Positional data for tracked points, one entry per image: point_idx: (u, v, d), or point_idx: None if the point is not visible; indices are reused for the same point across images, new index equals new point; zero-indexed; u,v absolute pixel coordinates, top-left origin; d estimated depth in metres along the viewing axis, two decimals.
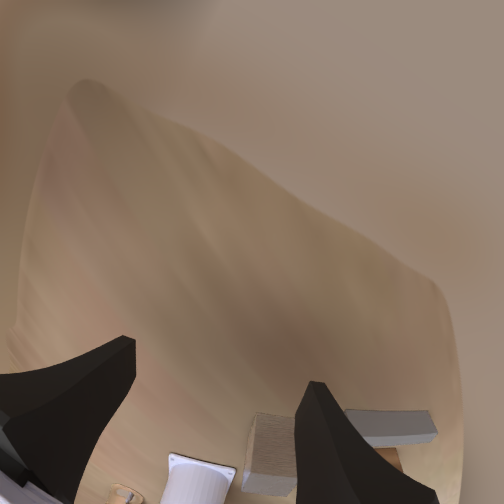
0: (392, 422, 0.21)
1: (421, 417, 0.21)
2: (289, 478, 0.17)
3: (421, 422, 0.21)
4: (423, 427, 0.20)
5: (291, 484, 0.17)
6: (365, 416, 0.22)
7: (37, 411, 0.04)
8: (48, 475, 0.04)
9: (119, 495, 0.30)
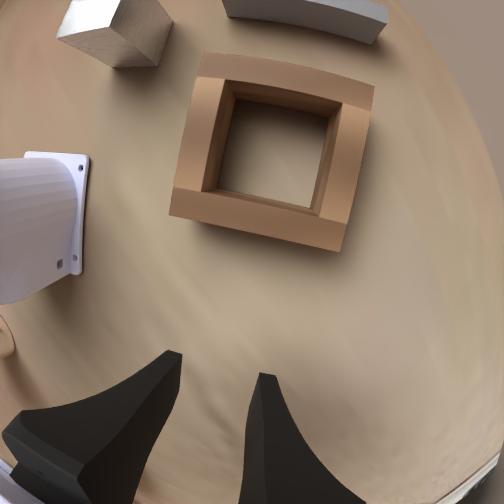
0: None
1: None
2: None
3: None
4: None
5: None
6: None
7: (105, 448, 0.04)
8: None
9: None
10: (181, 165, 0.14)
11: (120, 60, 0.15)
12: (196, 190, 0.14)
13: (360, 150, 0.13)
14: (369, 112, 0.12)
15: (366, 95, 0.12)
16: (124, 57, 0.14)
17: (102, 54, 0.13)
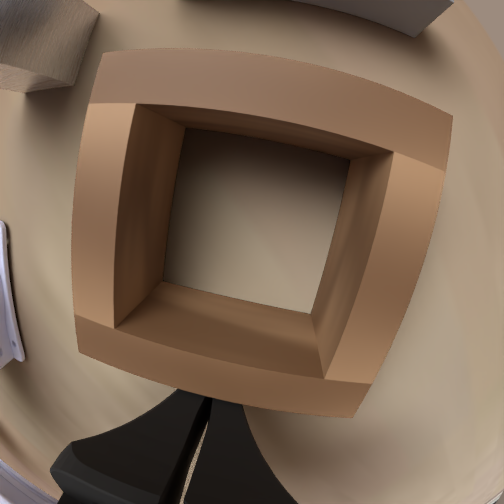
0: None
1: None
2: None
3: None
4: None
5: None
6: None
7: None
8: None
9: None
10: (77, 280, 0.07)
11: (22, 85, 0.08)
12: (107, 326, 0.07)
13: (418, 257, 0.06)
14: (443, 174, 0.05)
15: (438, 134, 0.05)
16: (22, 81, 0.07)
17: None
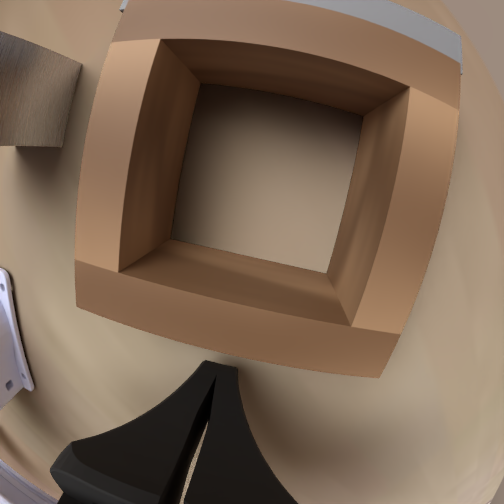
0: None
1: None
2: None
3: None
4: None
5: None
6: None
7: None
8: None
9: None
10: (82, 219, 0.07)
11: None
12: (110, 269, 0.07)
13: (442, 190, 0.06)
14: (457, 112, 0.05)
15: (449, 77, 0.05)
16: None
17: None
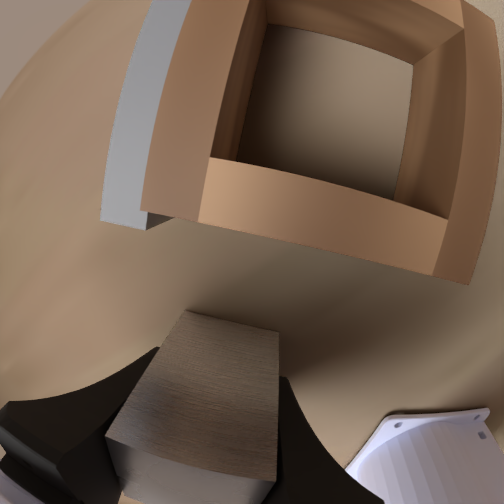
0: None
1: None
2: (120, 458, 0.05)
3: None
4: None
5: (157, 463, 0.05)
6: None
7: (87, 440, 0.04)
8: (94, 501, 0.04)
9: None
10: (398, 257, 0.06)
11: None
12: (445, 228, 0.06)
13: None
14: None
15: None
16: None
17: None
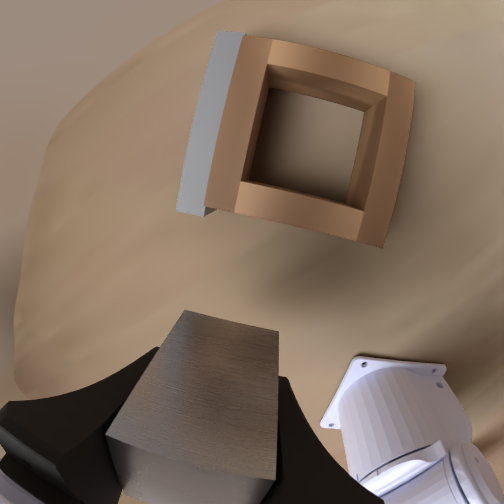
0: None
1: None
2: (120, 457, 0.05)
3: None
4: None
5: (157, 462, 0.05)
6: None
7: (87, 440, 0.04)
8: (94, 501, 0.04)
9: None
10: (335, 231, 0.13)
11: None
12: (362, 215, 0.13)
13: (317, 51, 0.11)
14: (274, 40, 0.11)
15: (254, 42, 0.11)
16: None
17: None
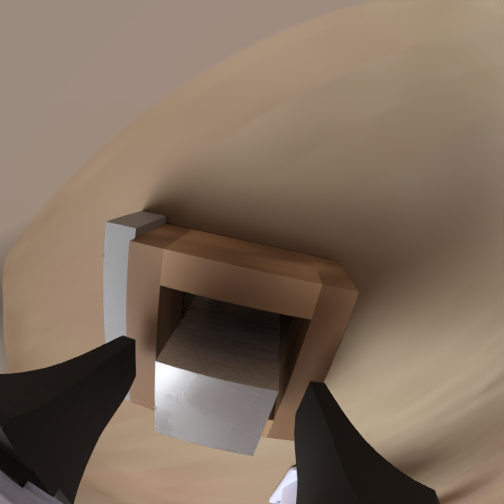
0: None
1: None
2: (163, 383, 0.09)
3: None
4: None
5: (193, 381, 0.08)
6: None
7: (37, 411, 0.04)
8: (48, 475, 0.04)
9: None
10: None
11: None
12: (272, 423, 0.12)
13: (219, 266, 0.10)
14: (165, 251, 0.10)
15: (143, 253, 0.11)
16: None
17: None
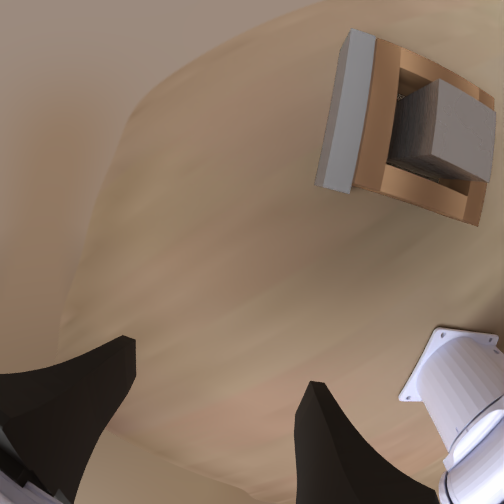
0: (333, 111, 0.15)
1: (340, 59, 0.15)
2: (443, 96, 0.09)
3: (342, 59, 0.14)
4: (344, 55, 0.13)
5: (459, 96, 0.09)
6: (322, 155, 0.17)
7: (37, 411, 0.04)
8: (48, 475, 0.04)
9: None
10: (450, 211, 0.14)
11: None
12: (466, 200, 0.13)
13: (432, 63, 0.11)
14: (402, 48, 0.11)
15: (388, 46, 0.11)
16: None
17: None
